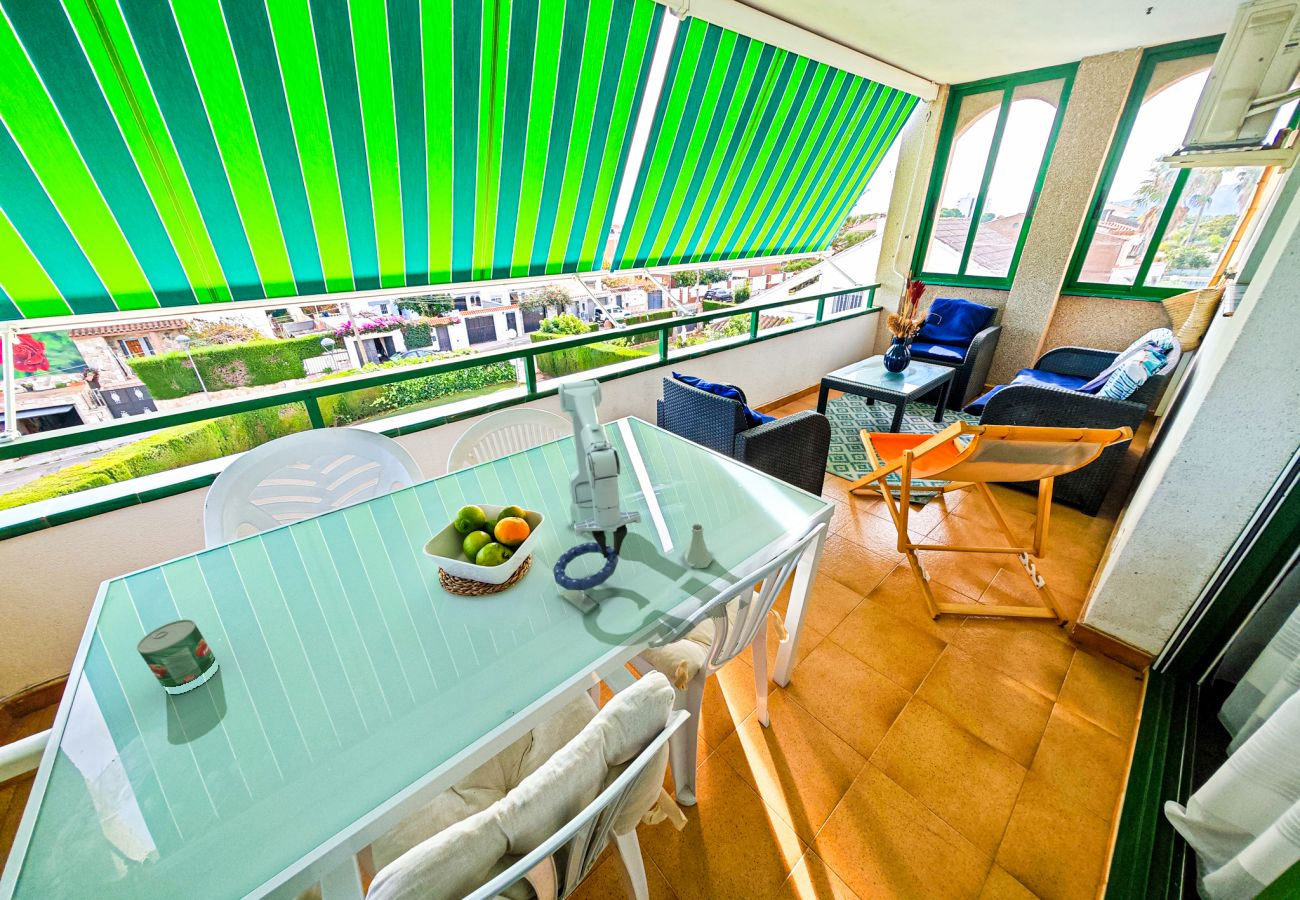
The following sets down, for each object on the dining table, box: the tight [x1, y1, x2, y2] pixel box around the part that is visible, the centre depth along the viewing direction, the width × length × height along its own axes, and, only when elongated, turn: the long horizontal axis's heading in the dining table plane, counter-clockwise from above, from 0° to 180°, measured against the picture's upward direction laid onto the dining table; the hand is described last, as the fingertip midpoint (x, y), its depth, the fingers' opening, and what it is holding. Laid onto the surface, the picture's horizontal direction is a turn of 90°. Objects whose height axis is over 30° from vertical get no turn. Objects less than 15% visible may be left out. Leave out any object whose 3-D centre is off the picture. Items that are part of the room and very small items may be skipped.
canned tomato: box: [136, 619, 216, 692], centre depth 87 cm, size 8×8×11 cm
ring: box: [552, 541, 619, 591], centre depth 102 cm, size 14×14×2 cm
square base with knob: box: [560, 576, 601, 616], centre depth 105 cm, size 9×9×4 cm
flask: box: [684, 523, 713, 569], centre depth 114 cm, size 7×7×10 cm
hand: (610, 554), depth 104 cm, fingers closed on ring, 2 cm apart
